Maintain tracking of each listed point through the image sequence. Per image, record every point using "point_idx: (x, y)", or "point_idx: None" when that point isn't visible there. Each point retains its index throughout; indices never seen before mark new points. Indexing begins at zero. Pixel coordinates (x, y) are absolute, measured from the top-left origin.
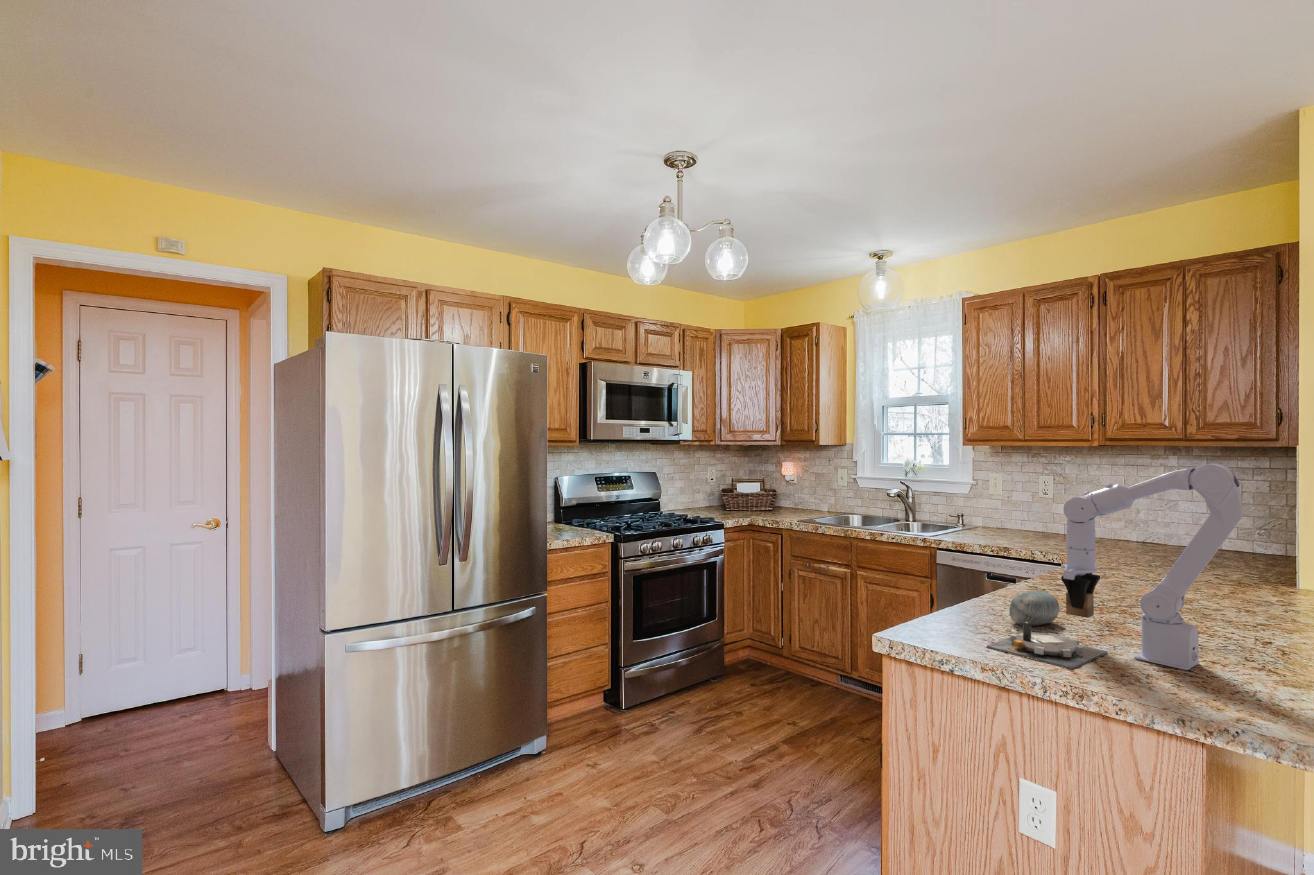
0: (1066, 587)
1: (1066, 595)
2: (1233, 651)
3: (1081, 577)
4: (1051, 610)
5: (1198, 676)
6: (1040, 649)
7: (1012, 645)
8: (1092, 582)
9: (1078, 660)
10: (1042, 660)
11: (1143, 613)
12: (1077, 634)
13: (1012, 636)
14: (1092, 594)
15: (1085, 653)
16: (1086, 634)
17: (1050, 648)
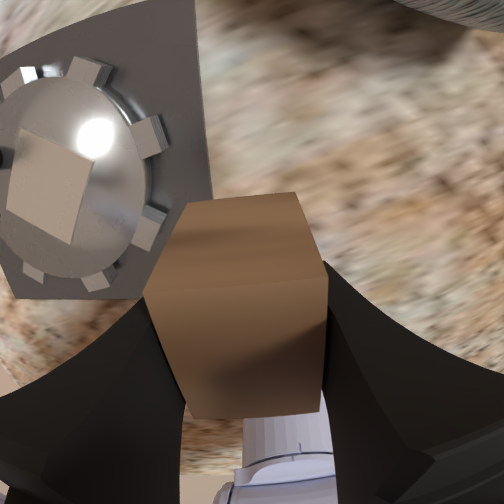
0: (56, 373)
1: (154, 276)
2: None
3: (367, 492)
4: (452, 7)
5: (231, 423)
6: None
7: None
8: (338, 492)
9: (60, 286)
10: None
11: (304, 460)
12: (397, 124)
13: (3, 89)
14: (294, 414)
15: (132, 270)
16: (422, 148)
17: (6, 241)
